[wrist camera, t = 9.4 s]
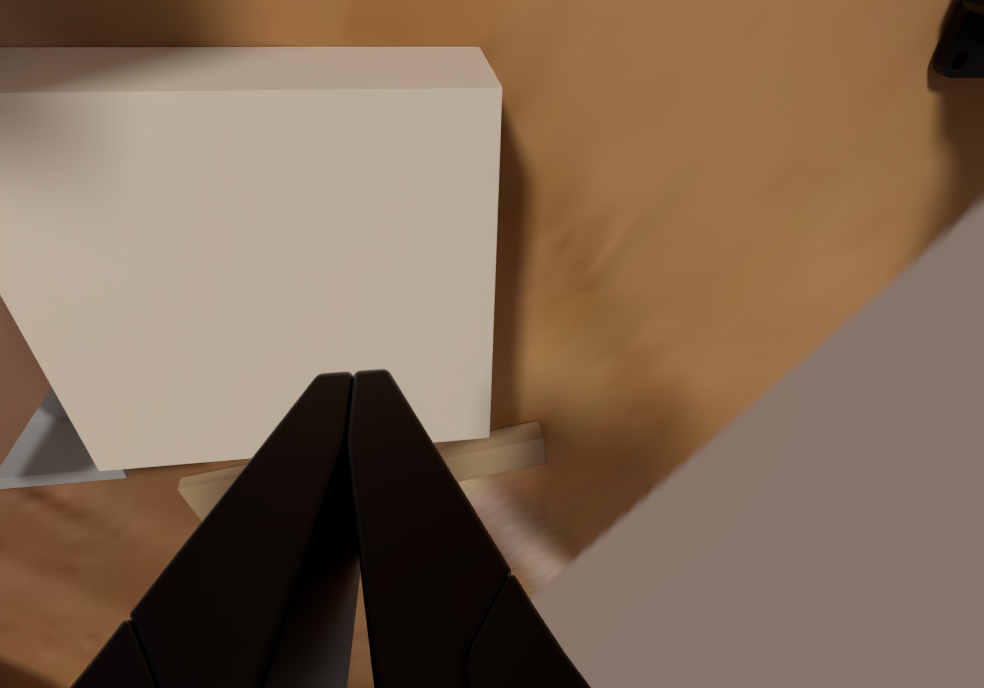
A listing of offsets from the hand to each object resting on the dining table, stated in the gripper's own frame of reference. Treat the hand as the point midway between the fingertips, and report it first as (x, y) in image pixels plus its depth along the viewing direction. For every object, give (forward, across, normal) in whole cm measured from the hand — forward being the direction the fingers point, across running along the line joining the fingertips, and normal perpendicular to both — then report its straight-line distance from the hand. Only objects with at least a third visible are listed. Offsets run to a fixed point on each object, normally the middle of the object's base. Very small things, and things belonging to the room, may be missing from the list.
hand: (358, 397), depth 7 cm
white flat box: (+12, +3, +4) cm, 13 cm away
